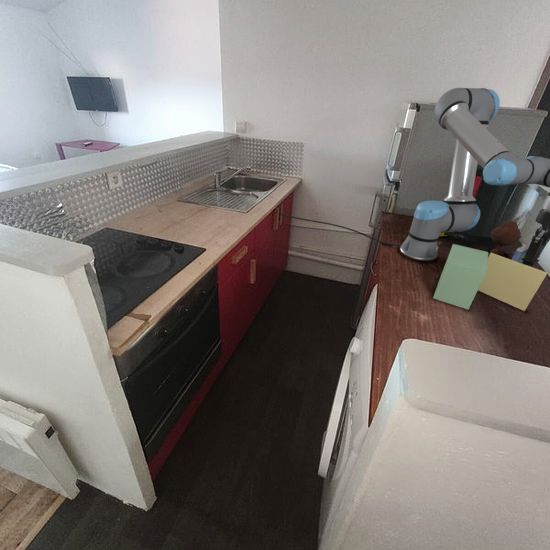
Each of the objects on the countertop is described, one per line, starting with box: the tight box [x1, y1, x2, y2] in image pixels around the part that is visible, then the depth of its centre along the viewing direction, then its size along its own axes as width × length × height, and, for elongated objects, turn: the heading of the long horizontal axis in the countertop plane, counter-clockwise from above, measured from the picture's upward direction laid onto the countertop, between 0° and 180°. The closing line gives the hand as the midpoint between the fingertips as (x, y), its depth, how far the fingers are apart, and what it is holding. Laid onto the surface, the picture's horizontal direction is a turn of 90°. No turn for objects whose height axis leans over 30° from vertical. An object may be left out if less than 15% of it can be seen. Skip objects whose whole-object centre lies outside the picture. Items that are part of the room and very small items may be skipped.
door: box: [477, 252, 548, 312], centre depth 101 cm, size 6×16×15 cm, turn 36°
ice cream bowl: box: [489, 220, 522, 256], centre depth 131 cm, size 11×11×15 cm
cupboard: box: [432, 243, 489, 311], centre depth 102 cm, size 11×16×15 cm
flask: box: [510, 242, 529, 264], centre depth 121 cm, size 9×3×11 cm, turn 121°
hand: (520, 277), depth 101 cm, fingers closed
